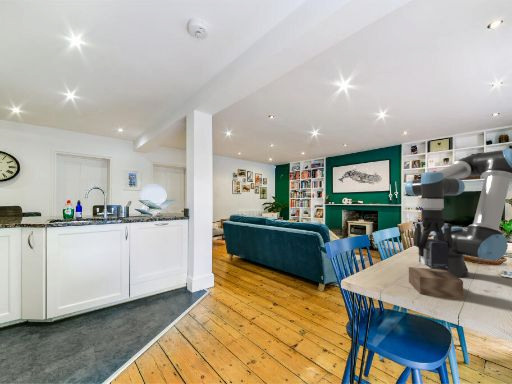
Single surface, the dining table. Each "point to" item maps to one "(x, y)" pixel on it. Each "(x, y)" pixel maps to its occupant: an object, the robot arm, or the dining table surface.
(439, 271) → the walnut block
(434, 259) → the small box
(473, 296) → the dining table surface
